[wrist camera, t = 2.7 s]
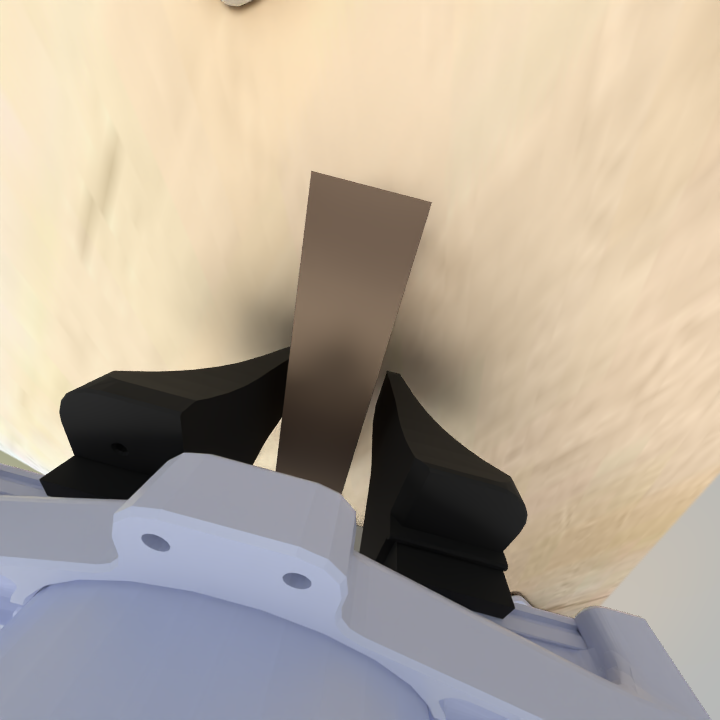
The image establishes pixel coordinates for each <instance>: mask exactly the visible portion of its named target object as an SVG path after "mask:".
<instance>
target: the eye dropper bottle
mask: <svg viewBox="0 0 720 720" xmlns="http://www.w3.org/2000/svg"><path fill="white" fill-rule="evenodd" d="M221 1H222V2H223V3H225V4H227V5H230V6H241V5H243V4H245V3H248V2H250V1H252V0H221Z"/></svg>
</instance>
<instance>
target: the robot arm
mask: <svg viewBox="0 0 720 720" xmlns="http://www.w3.org/2000/svg"><path fill="white" fill-rule="evenodd" d="M290 347H291V346H290ZM290 347H287V348H284V349H281V350H278V351H276V352H273V353H270V354H267V355H264V356H261V357H257V358H254V359H250V360H247V361H243V362H239V363H235V364H230V365H225V366H219V367H212V368H204V369H196V370H184V371H161V372H146V371H112V372H110V373H108V374H106V375H104V376H102V377H100V378H98V379H95V380H93V381H91V382H89V383H87V384H85V385H83V386H81V387H79V388H77V389H75V390H73V391H71V392H68V393H66V395H65V396H64V397H63V399H62V400H61V405H60V411H59V413H60V418H61V422H62V425H63V427H64V430H65V432H66V435H67V437H68V440H69V443H70V445H71V448H72V450H73V453H74V456H73V457H71V458H70V459H69V460H67V461H66V462H64V463H63V464H61V465H60V466H58V467H57V468H55V469H54V470H52V471H51V472H49V473H48V474H46V475H42V474H39V473H35V472H31V471H27V470H24V469H20V468H17V467H13V466H9V465H5V464H2V463H0V720H711V718H710V717H709V715H708V714H707V712H706V711H705V709H704V708H703V706H702V705H701V703H700V702H699V700H698V699H697V697H696V696H695V694H694V693H693V691H692V690H691V688H690V687H689V685H688V684H687V682H686V681H685V679H684V678H683V676H682V675H681V673H680V672H679V670H678V669H677V667H676V666H675V664H674V662H673V661H672V659H671V658H670V657H669V655H668V654H667V652H666V650H665V649H664V647H663V646H662V644H661V643H660V641H659V640H658V639H657V637H656V635H655V634H654V632H653V631H652V630H651V628H650V626H649V625H648V623H647V622H646V620H645V619H643V618H641V617H639V616H636V615H632V614H628V613H625V612H621V611H617V610H613V609H610V608H607V607H602V606H591V607H587V608H585V609H583V610H581V611H580V612H579V613H578V614H577V615H576V616H575V618H571V617H567V616H564V615H560V614H556V613H553V612H549V611H545V610H541V609H538V608H534V607H532V606H531V605H530V604H529V603H528V602H527V601H526V600H525V599H524V598H523V597H522V596H519V595H515V596H511V594H510V591H509V588H508V585H507V582H506V579H505V576H504V573H503V571H506V570H507V569H508V564H507V561H506V558H505V555H504V553H503V551H504V550H505V549H506V548H507V546H508V545H509V544H510V543H511V542H512V541H513V540H514V539H515V538H516V536H517V535H518V534H519V533H520V532H521V530H522V529H523V527H524V525H525V524H526V520H527V511H526V507H525V504H524V502H523V500H522V498H521V496H520V494H519V492H518V490H517V488H516V486H515V484H514V482H513V480H512V478H511V477H510V476H508V475H507V474H505V473H504V472H502V471H500V470H499V469H497V468H495V467H494V466H492V465H490V464H489V463H487V462H486V461H484V460H482V459H481V458H479V457H478V456H477V455H475V454H474V453H472V452H471V451H470V450H468V449H467V448H465V447H464V446H463V445H462V444H460V443H459V442H458V441H456V440H455V439H454V438H453V437H452V436H451V435H449V434H448V433H447V432H446V431H445V430H444V429H443V428H442V427H441V426H440V425H439V424H438V423H437V422H436V421H435V420H434V419H433V418H432V417H431V416H430V415H429V414H428V413H427V412H426V411H425V409H424V408H423V407H422V406H421V404H420V403H419V402H418V400H417V399H416V398H415V396H414V395H413V394H412V392H411V391H410V389H409V388H408V386H407V384H406V383H405V381H404V380H403V378H402V377H401V375H400V374H397V373H394V372H390V371H387V373H386V376H385V379H384V382H383V385H382V388H381V391H380V394H379V397H378V400H377V403H376V407H375V413H374V419H373V434H372V466H371V477H370V484H369V491H368V498H367V505H366V512H365V519H364V525H363V532H362V538H361V544H360V551H359V553H358V552H357V551H355V550H354V544H355V536H356V528H357V527H356V511H355V510H354V509H353V508H352V507H351V506H350V504H349V503H348V502H347V501H346V500H345V499H344V497H343V496H342V495H341V494H340V493H339V492H337V491H334V490H332V489H330V488H328V487H326V486H324V485H322V484H320V483H317V482H313V481H309V480H305V479H302V478H298V477H294V476H291V475H287V474H283V473H279V472H276V471H272V470H268V469H265V468H261V467H257V466H253V463H254V461H255V460H256V458H257V456H258V454H259V452H260V450H261V448H262V447H263V445H264V443H265V442H266V440H267V438H268V437H269V435H270V434H271V432H272V431H273V429H274V428H275V427H276V425H277V424H278V422H279V421H280V419H281V418H282V414H283V406H284V398H285V389H286V381H287V372H288V364H289V356H290Z"/></svg>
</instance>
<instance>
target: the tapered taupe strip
mask: <svg viewBox="0 0 720 720" xmlns="http://www.w3.org/2000/svg"><path fill="white" fill-rule="evenodd" d="M431 203H432V202H428V201H424V200H420V199H417V198H413V197H409V196H405V195H401V194H398V193H394V192H390V191H386V190H382V189H378V188H375V187H371V186H367V185H363V184H359V183H355V182H352V181H348V180H344V179H340V178H336V177H332V176H329V175H325V174H321V173H317V172H313V171H311V180H310V188H309V196H308V205H307V213H306V222H305V230H304V238H303V247H302V255H301V263H300V272H299V280H298V289H297V297H296V305H295V314H294V322H293V330H292V339H291V347H290V356H289V364H288V372H287V381H286V389H285V398H284V406H283V414H282V423H281V431H280V439H279V448H278V456H277V465H276V472H279V473H283V474H287V475H291V476H294V477H298V478H302V479H305V480H309V481H313V482H317V483H320V484H322V485H324V486H326V487H328V488H330V489H332V490H334V491H337V492H339V493H340V494H342V491H343V488H344V484H345V481H346V478H347V475H348V472H349V468H350V465H351V462H352V459H353V455H354V452H355V449H356V446H357V442H358V439H359V436H360V433H361V430H362V426H363V423H364V420H365V417H366V413H367V410H368V407H369V404H370V400H371V397H372V394H373V391H374V387H375V384H376V381H377V378H378V375H379V371H380V368H381V365H382V362H383V358H384V355H385V352H386V349H387V345H388V342H389V339H390V336H391V333H392V329H393V326H394V323H395V320H396V316H397V313H398V310H399V307H400V303H401V300H402V297H403V294H404V291H405V287H406V284H407V281H408V278H409V274H410V271H411V268H412V265H413V261H414V258H415V255H416V252H417V249H418V245H419V242H420V239H421V236H422V232H423V229H424V226H425V223H426V219H427V216H428V213H429V210H430V206H431Z"/></svg>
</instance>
